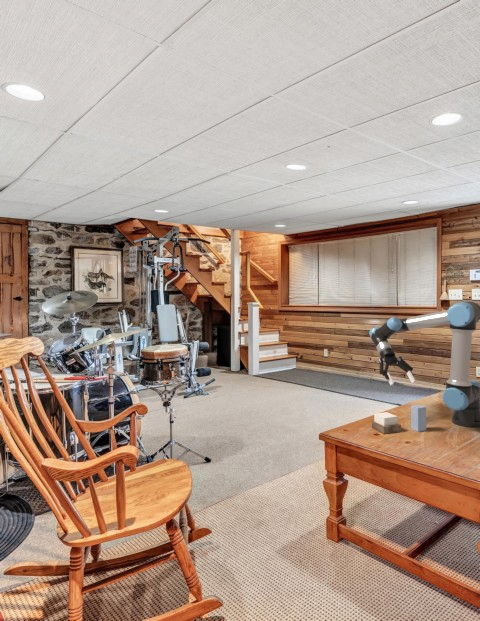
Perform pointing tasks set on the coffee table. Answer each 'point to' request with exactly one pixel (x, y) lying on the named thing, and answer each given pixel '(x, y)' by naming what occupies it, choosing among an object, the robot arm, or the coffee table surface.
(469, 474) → the coffee table surface
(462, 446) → the coffee table surface
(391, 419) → the cream tower block
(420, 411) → the slate-blue pillar
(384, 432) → the walnut tower slab
